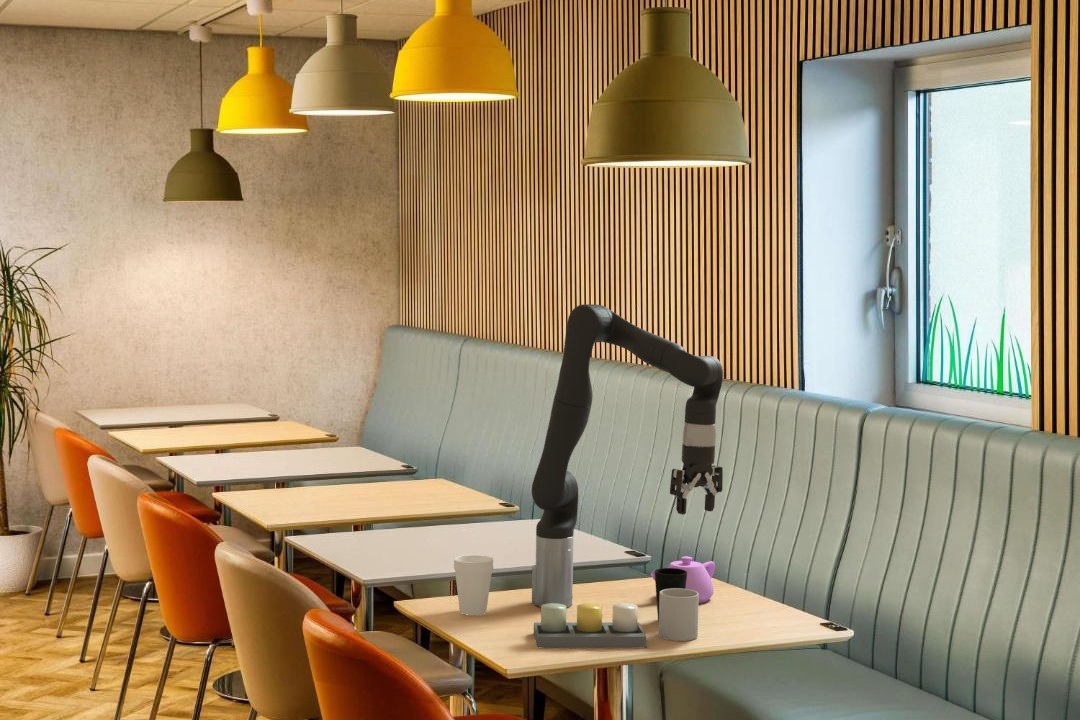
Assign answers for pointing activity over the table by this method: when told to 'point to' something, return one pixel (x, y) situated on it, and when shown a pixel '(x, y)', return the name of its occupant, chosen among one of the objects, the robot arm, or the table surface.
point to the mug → (678, 614)
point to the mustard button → (589, 617)
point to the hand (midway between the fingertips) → (695, 512)
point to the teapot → (696, 576)
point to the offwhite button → (625, 617)
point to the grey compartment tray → (589, 637)
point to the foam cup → (473, 582)
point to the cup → (669, 581)
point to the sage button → (553, 617)
